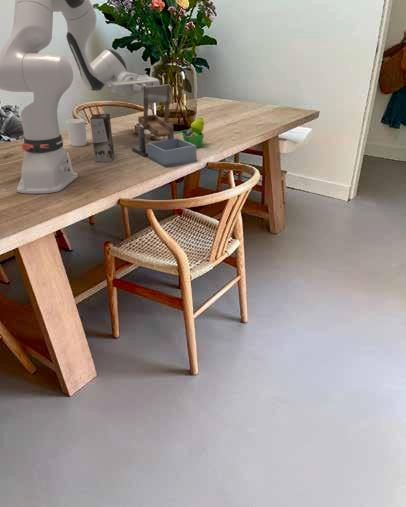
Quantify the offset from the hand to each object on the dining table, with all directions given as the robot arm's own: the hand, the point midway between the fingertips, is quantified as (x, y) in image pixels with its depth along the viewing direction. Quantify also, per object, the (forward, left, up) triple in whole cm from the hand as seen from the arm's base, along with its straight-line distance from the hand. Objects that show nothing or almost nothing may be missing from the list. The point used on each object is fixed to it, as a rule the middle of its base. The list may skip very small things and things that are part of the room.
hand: (143, 88), depth 168 cm
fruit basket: (+3, -20, -24) cm, 31 cm away
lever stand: (-6, -3, -23) cm, 24 cm away
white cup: (+6, +30, -24) cm, 39 cm away
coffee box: (-15, +15, -24) cm, 32 cm away
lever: (-8, -5, -13) cm, 16 cm away
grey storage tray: (-18, -11, -23) cm, 32 cm away
